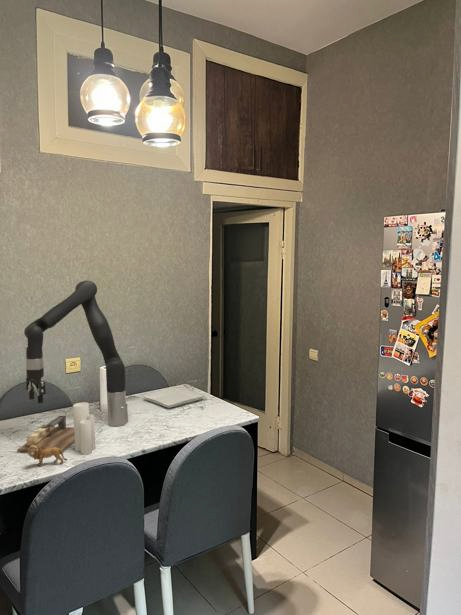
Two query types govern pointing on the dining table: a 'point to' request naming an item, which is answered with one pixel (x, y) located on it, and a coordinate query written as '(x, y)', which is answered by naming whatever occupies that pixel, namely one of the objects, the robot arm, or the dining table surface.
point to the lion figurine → (44, 453)
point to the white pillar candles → (84, 428)
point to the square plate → (174, 397)
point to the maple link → (38, 435)
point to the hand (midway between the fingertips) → (36, 401)
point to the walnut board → (55, 436)
